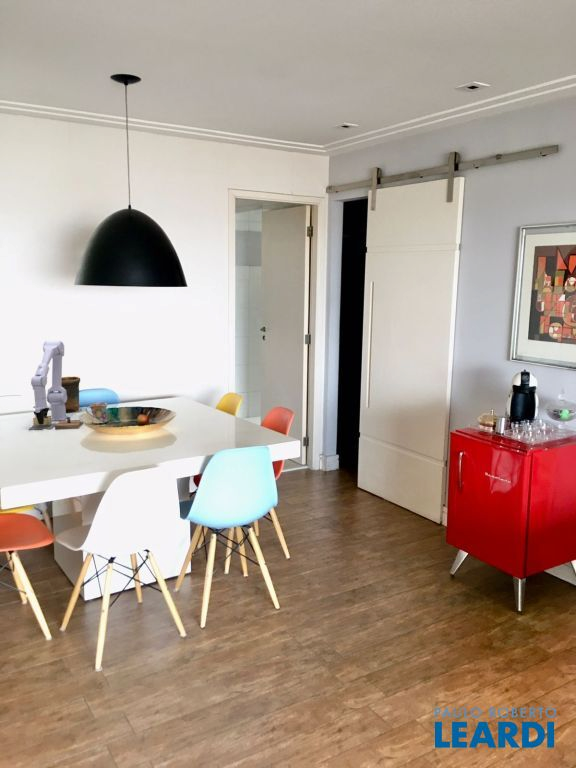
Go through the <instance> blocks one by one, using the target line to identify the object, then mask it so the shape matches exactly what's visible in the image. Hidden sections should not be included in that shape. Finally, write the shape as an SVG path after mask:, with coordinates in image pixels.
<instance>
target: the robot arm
mask: <svg viewBox="0 0 576 768" xmlns="http://www.w3.org/2000/svg"><path fill="white" fill-rule="evenodd" d="M42 350H43V356H42V360H41V363H40V364H38V365H37V369H36V371H35V374H34V376H32V378H31V379H30V384H31V386H32V390H33V392H34V393H33V395H34V404H35V405H34V406H33V407H32V408H33V409H35V411H33V414H34V416H35V417H36V418H37V420H38V423H39V424H43V422H44V416H48V413H49V411H50V413H51V421H52V422H53V421H66V420H67V417H69V416H68V415H67V414H66V407H65V404H64V403H65V402H66V401H67V394H66V390H65V389H64V388H63V387H62V386H61V384H62V375H63V370H62V369H63V357H64V356H65V345H64V343H63V341H61V340H59V341H58V340H57V341H56V340H55V341H44V342H43V344H42ZM51 360H52V367H51V369H52V370H51V371H52V372H51V381H52V382H51V387H49V389H47V391H46V386H47V383H48V374H49V371H50V367H49V364H50V363H51ZM58 391H60V392H58ZM47 403H49V405H50V407H48V404H47Z"/></svg>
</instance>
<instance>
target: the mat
mask: <svg viewBox="0 0 576 768" xmlns="http://www.w3.org/2000/svg"><path fill="white" fill-rule="evenodd" d="M57 423H58V422H57ZM57 423H55V422H54V423H50V424H49V425H33V424H32V426H31V427H30V428H28V429H27V431H40V430H41V429H47V430H53V429H55V425H56V424H57ZM39 429H40V430H39ZM41 431H42V430H41Z"/></svg>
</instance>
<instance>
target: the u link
mask: <svg viewBox="0 0 576 768" xmlns="http://www.w3.org/2000/svg"><path fill="white" fill-rule="evenodd" d="M51 419H52V415H47V416H44V422H43V424H39V423H38V420H37V418H36V416H35V417H33V418H32V426H33V425H49V424H52V422H53V421H51Z"/></svg>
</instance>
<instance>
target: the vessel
mask: <svg viewBox="0 0 576 768" xmlns="http://www.w3.org/2000/svg"><path fill="white" fill-rule="evenodd" d="M80 383H81V378H80V377H79V376H63V377H62V384H61V386H62V387H63V388H64V389H65V390H66V394H67V401H66V402H65V403H64V404H65V407H66V415H67V414H71V415H72V414H74V413H75V414H76V413H80V412H81V409H80ZM57 392H60V391H57Z"/></svg>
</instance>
